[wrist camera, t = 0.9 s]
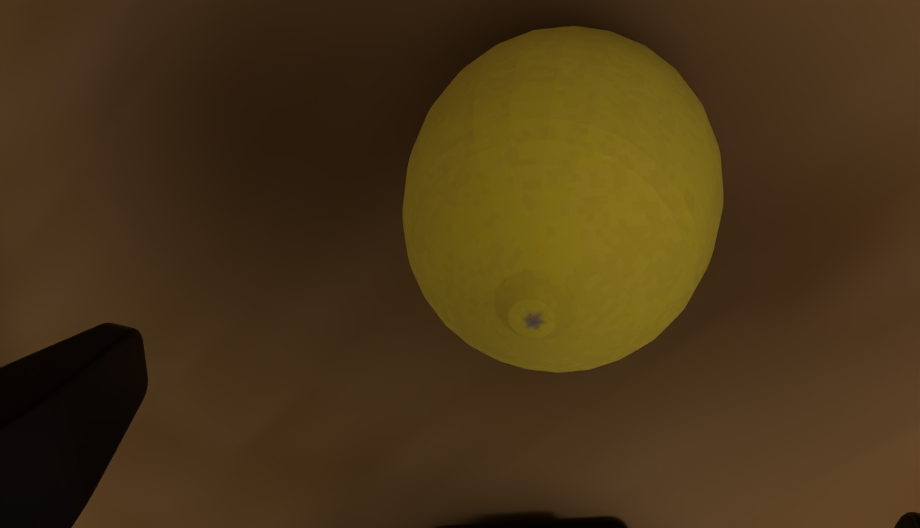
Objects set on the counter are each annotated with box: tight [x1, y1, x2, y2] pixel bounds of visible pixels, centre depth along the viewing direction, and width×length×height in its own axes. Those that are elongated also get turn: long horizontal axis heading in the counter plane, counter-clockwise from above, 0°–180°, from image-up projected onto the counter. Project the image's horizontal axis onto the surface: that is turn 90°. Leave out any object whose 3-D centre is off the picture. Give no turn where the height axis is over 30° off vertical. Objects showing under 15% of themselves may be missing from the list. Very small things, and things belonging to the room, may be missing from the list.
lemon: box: [402, 26, 723, 373], centre depth 15 cm, size 6×6×8 cm
